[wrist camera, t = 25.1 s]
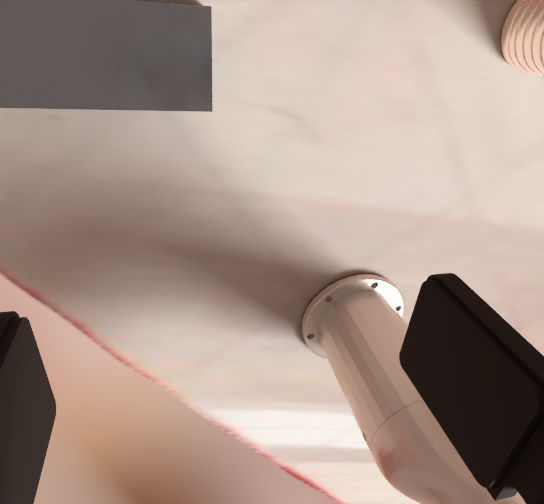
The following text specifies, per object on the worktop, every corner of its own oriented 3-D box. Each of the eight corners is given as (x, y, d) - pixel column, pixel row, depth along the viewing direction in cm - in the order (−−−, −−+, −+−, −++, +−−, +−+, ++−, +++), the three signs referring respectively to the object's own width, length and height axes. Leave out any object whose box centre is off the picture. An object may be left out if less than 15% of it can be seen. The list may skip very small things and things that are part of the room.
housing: (204, 95, 31) (212, 111, 27) (-37, 88, 27) (-77, 106, 23) (203, 5, 28) (211, 6, 24) (-70, -16, 24) (-124, -20, 20)
